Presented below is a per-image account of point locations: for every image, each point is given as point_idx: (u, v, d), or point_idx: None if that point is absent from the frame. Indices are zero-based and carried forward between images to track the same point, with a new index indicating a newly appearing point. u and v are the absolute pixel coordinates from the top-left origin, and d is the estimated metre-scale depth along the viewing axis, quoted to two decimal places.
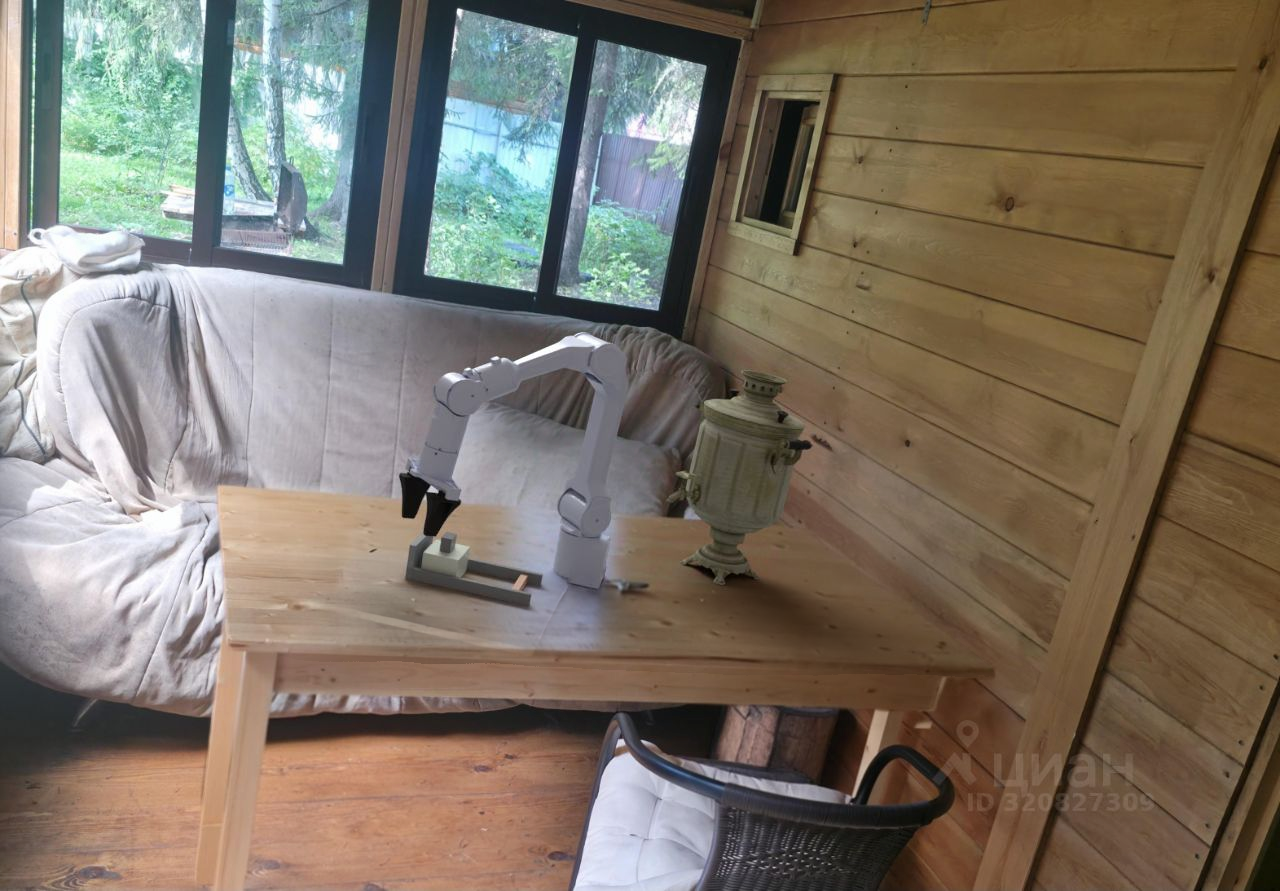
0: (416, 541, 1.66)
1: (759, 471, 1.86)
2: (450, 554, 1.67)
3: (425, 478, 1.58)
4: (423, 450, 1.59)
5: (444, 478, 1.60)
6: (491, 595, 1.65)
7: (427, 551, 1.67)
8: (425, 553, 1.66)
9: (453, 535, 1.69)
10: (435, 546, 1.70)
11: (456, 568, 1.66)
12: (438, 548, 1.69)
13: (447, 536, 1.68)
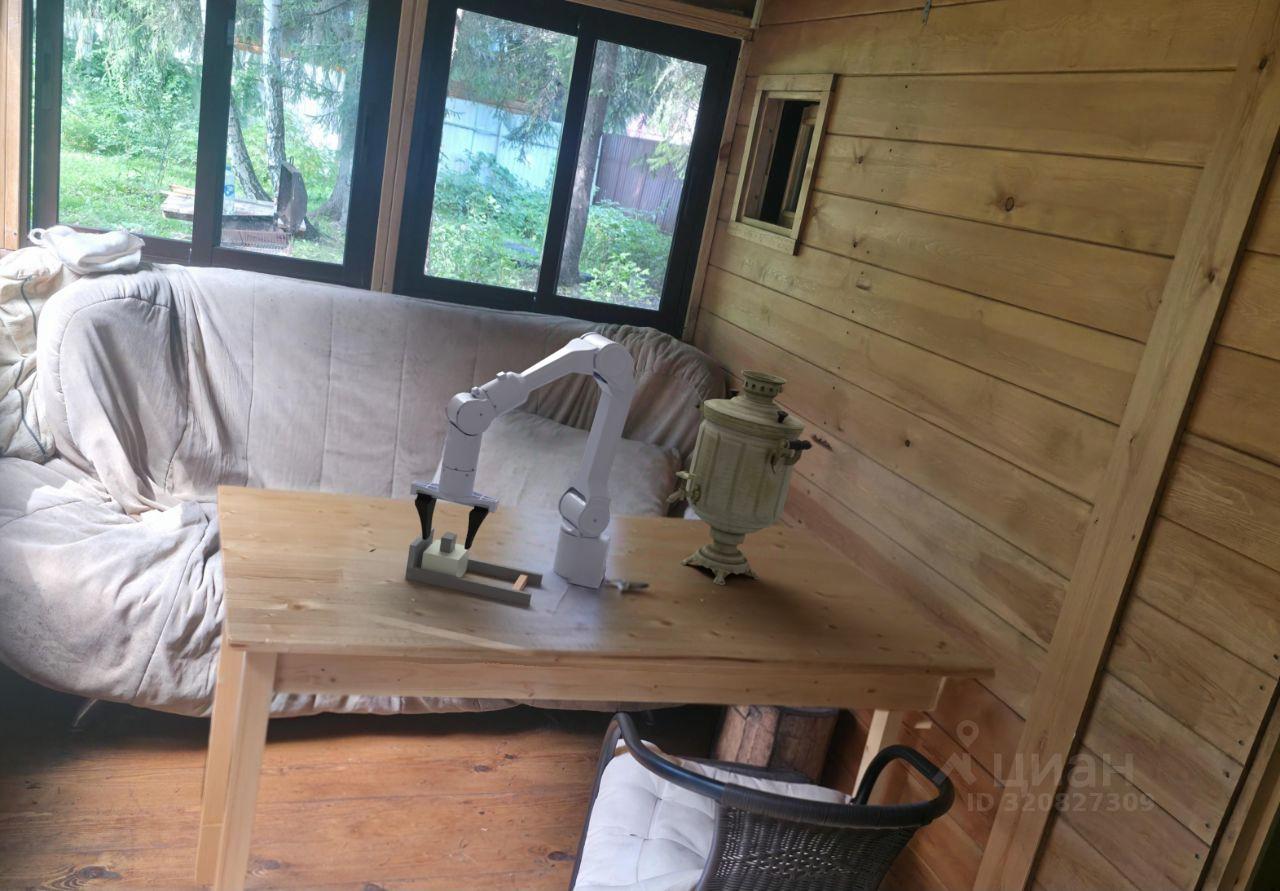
0: (416, 541, 1.66)
1: (759, 471, 1.86)
2: (450, 554, 1.67)
3: (462, 500, 1.64)
4: (450, 475, 1.63)
5: (472, 493, 1.67)
6: (491, 595, 1.65)
7: (427, 551, 1.67)
8: (425, 553, 1.66)
9: (453, 535, 1.69)
10: (435, 546, 1.70)
11: (456, 568, 1.66)
12: (438, 548, 1.69)
13: (447, 536, 1.68)
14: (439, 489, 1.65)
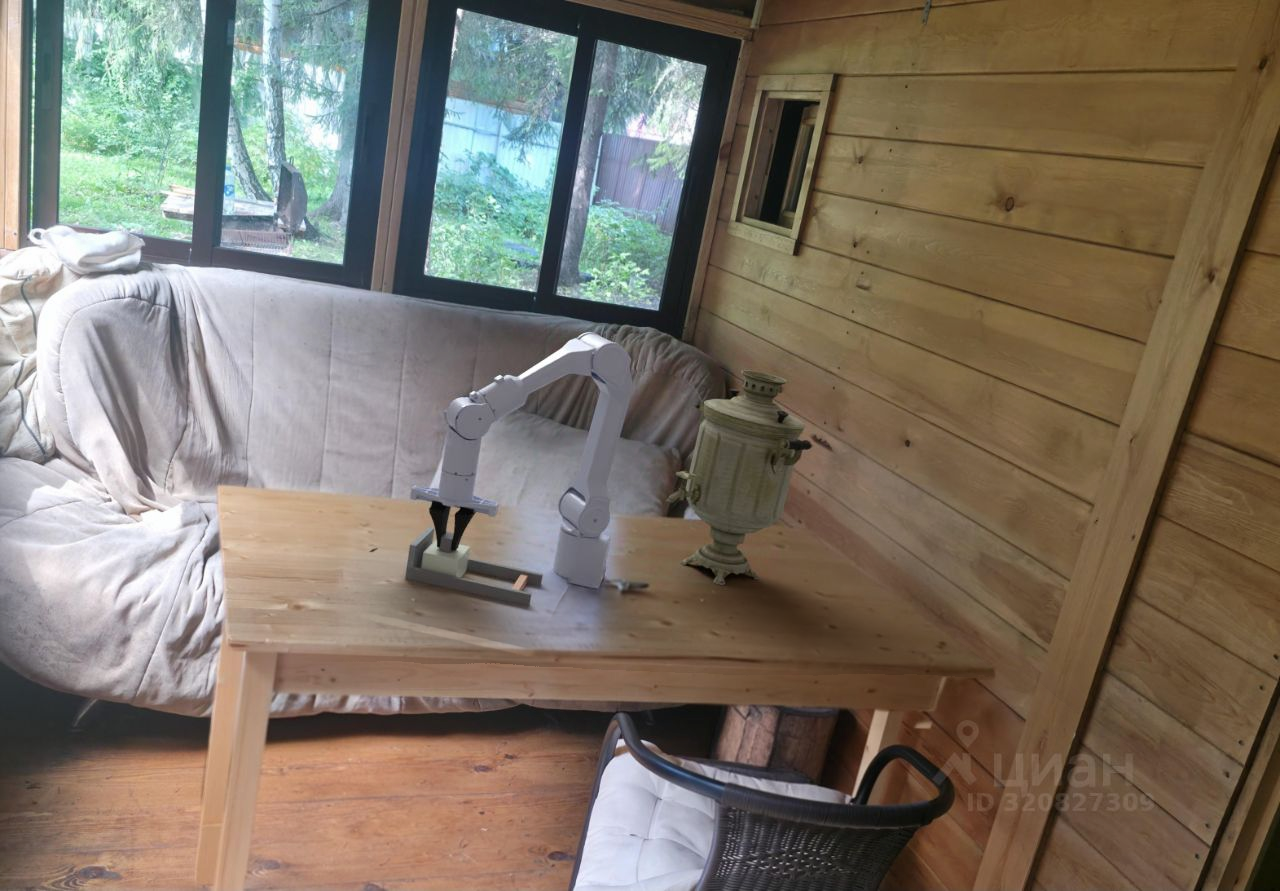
0: (416, 541, 1.66)
1: (759, 471, 1.86)
2: (450, 554, 1.67)
3: (462, 505, 1.65)
4: (450, 480, 1.64)
5: (472, 497, 1.67)
6: (491, 595, 1.65)
7: (427, 551, 1.67)
8: (425, 553, 1.66)
9: None
10: (435, 546, 1.70)
11: (456, 568, 1.66)
12: (438, 548, 1.69)
13: (447, 536, 1.68)
14: (439, 494, 1.65)
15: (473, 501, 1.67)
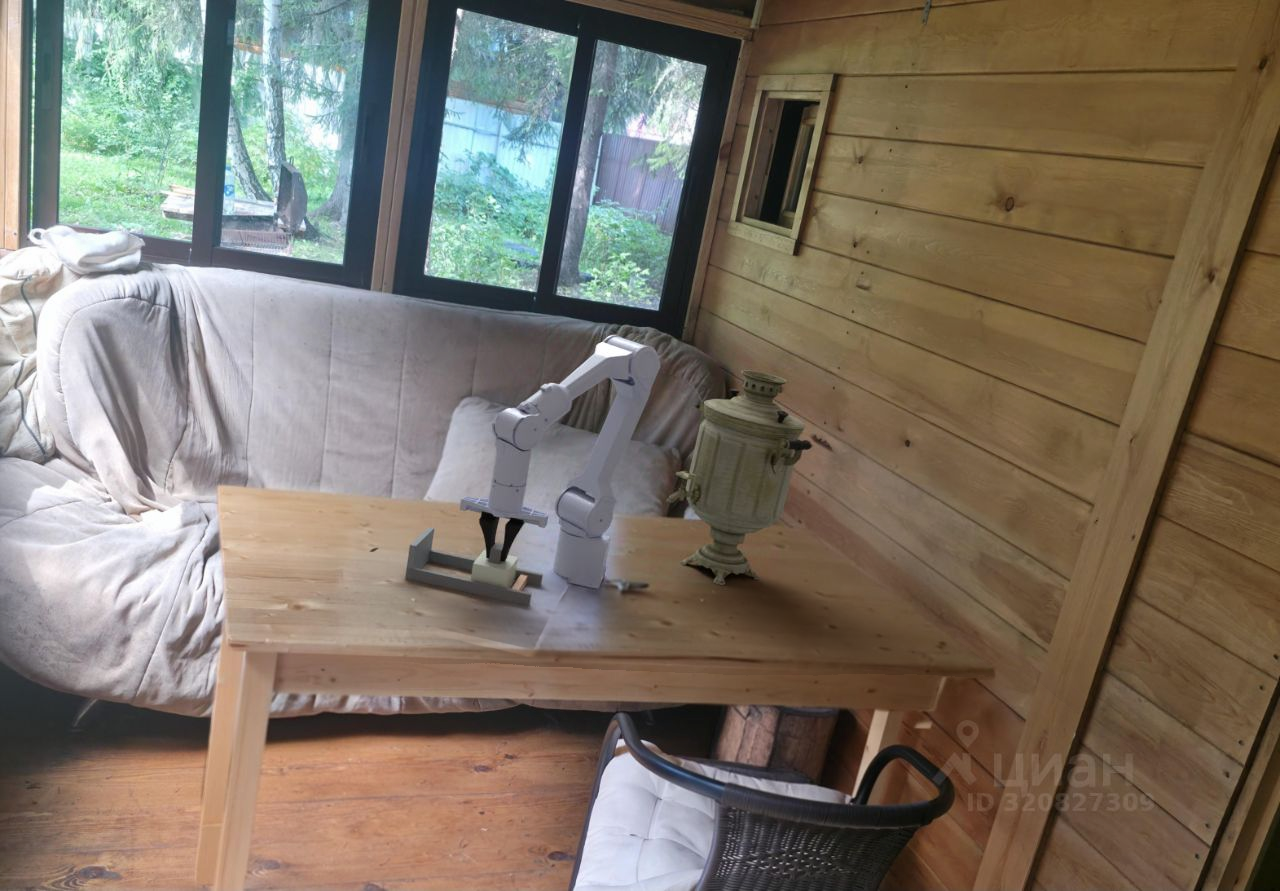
0: (416, 541, 1.66)
1: (759, 471, 1.86)
2: (499, 565, 1.67)
3: (512, 516, 1.64)
4: (501, 491, 1.63)
5: (522, 508, 1.67)
6: (491, 595, 1.65)
7: (477, 562, 1.66)
8: (475, 564, 1.66)
9: (502, 546, 1.69)
10: (484, 557, 1.69)
11: (506, 579, 1.66)
12: (487, 559, 1.68)
13: (496, 547, 1.68)
14: (489, 505, 1.65)
15: (523, 512, 1.66)
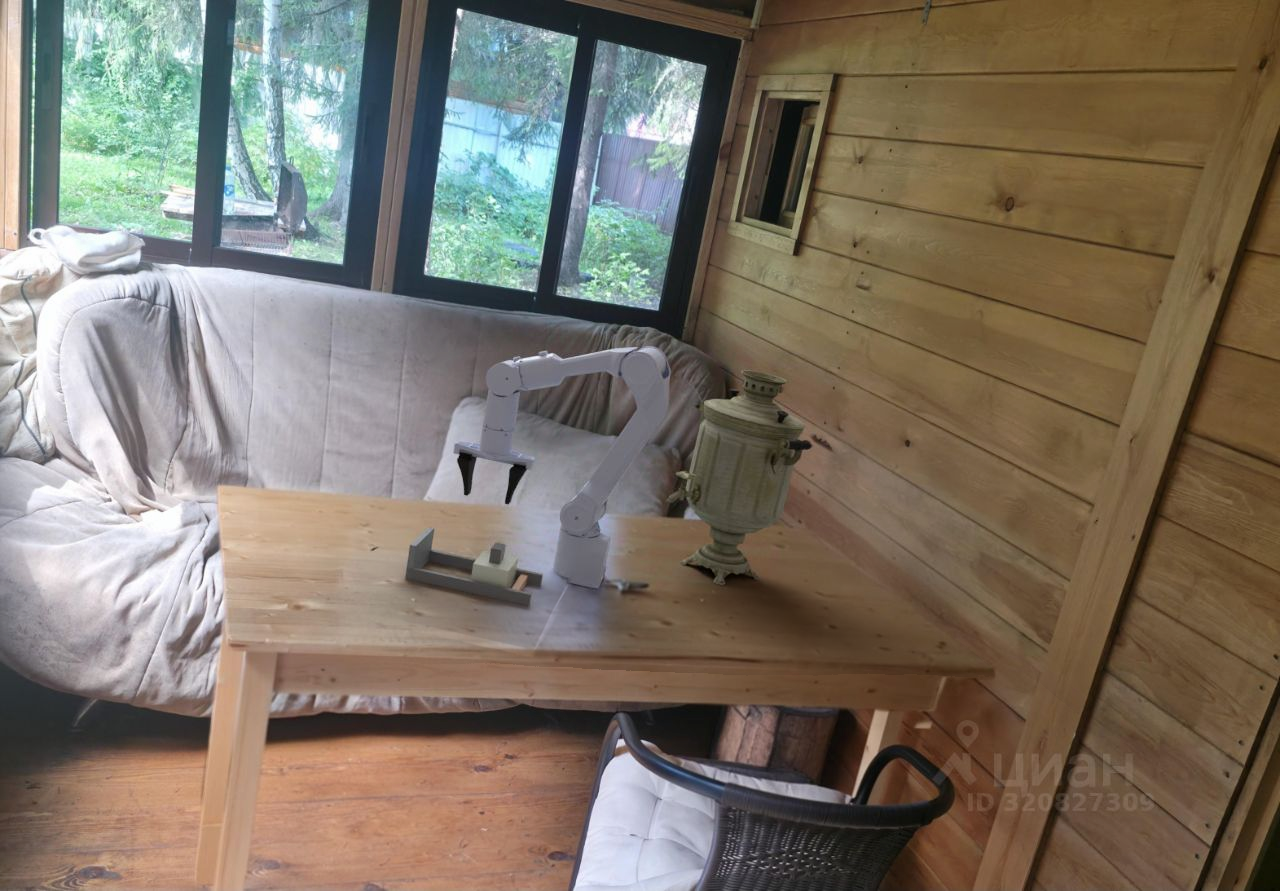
0: (416, 541, 1.66)
1: (759, 471, 1.86)
2: (500, 565, 1.67)
3: (501, 458, 1.79)
4: (491, 435, 1.78)
5: (510, 452, 1.81)
6: (491, 595, 1.65)
7: (477, 562, 1.66)
8: (475, 564, 1.66)
9: (502, 546, 1.69)
10: (484, 557, 1.69)
11: (506, 579, 1.66)
12: (487, 559, 1.68)
13: (497, 547, 1.68)
14: (480, 448, 1.80)
15: (511, 455, 1.81)
